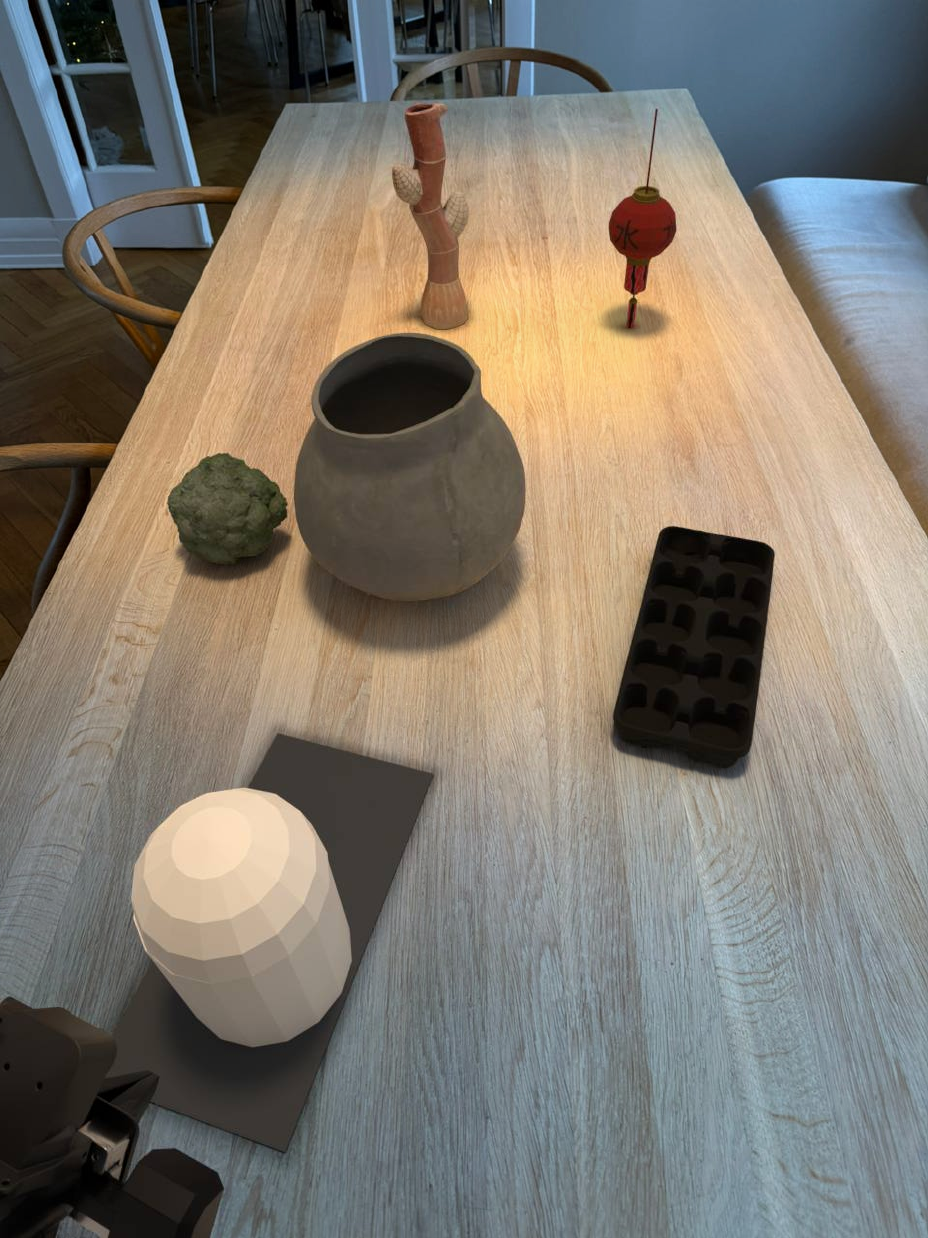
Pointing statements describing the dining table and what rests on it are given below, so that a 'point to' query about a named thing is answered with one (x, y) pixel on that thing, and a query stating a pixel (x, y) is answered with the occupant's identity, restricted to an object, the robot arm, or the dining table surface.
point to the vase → (434, 216)
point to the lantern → (641, 234)
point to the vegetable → (226, 509)
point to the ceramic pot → (407, 471)
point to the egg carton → (698, 647)
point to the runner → (363, 871)
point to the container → (243, 915)
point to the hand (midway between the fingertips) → (153, 1080)
